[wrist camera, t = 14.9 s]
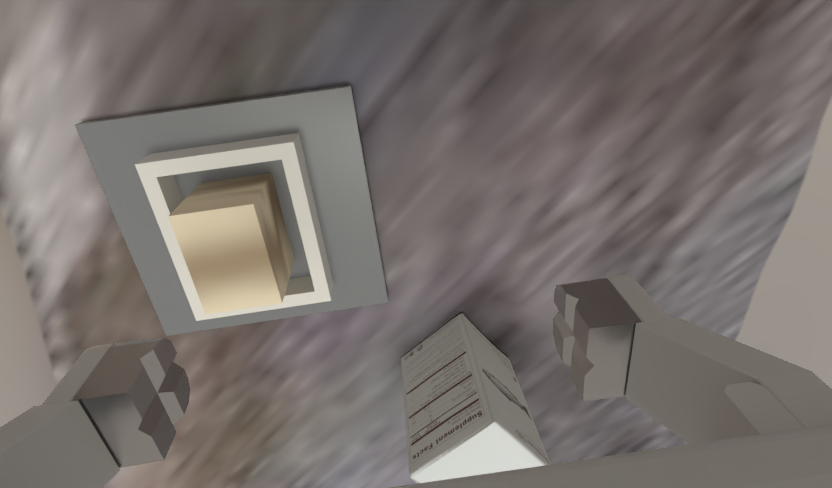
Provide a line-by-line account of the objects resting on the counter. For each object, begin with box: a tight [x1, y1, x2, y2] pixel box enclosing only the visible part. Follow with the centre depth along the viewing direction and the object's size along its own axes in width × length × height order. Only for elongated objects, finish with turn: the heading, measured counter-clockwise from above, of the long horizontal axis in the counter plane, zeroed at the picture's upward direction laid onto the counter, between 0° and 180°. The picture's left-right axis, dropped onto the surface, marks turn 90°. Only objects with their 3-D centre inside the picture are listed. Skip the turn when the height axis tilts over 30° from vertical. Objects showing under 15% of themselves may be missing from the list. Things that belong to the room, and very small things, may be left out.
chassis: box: [75, 85, 388, 336], centre depth 35 cm, size 17×18×4 cm
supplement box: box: [401, 313, 551, 483], centre depth 38 cm, size 7×7×13 cm
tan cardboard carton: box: [168, 173, 295, 315], centre depth 33 cm, size 7×5×6 cm
